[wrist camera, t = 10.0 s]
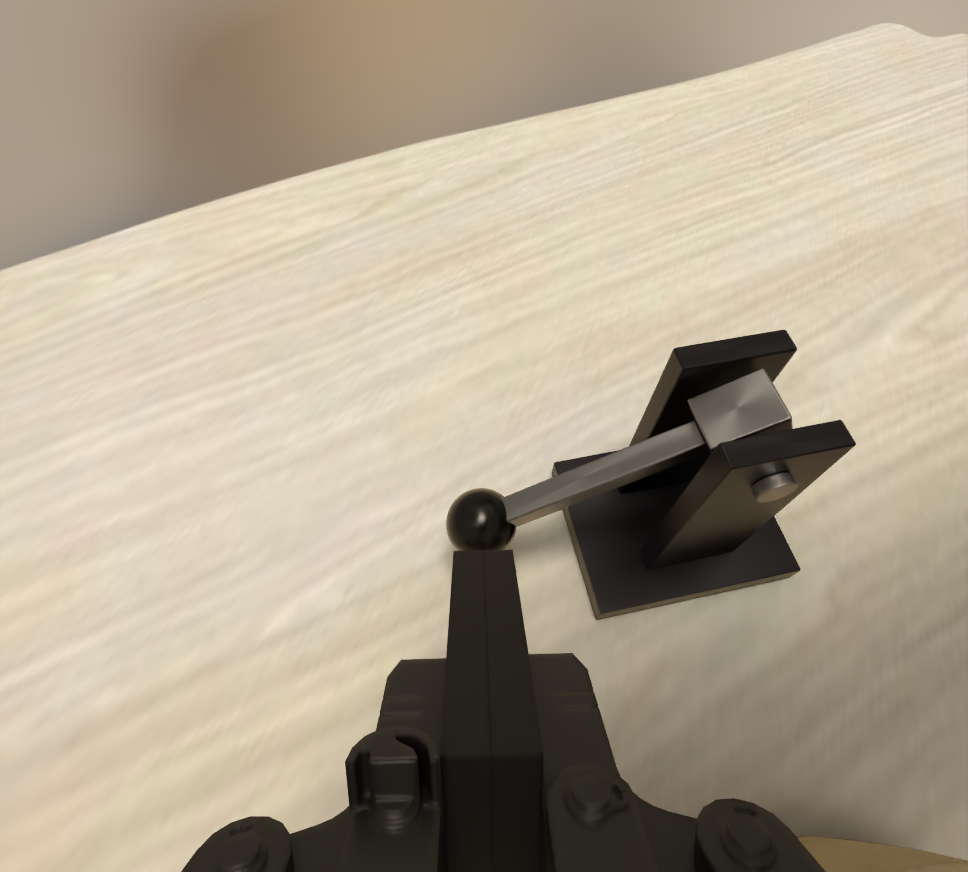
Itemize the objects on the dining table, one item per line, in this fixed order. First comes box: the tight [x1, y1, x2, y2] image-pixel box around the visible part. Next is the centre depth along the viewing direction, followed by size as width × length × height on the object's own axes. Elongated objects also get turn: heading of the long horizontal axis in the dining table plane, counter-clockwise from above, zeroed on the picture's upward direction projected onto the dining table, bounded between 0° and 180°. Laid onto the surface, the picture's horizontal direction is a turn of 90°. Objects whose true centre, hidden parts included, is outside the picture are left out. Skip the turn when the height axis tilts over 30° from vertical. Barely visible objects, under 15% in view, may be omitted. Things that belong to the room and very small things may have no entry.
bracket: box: [552, 330, 856, 619], centre depth 25 cm, size 10×8×12 cm
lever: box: [446, 368, 792, 551], centre depth 23 cm, size 14×3×3 cm, turn 102°
